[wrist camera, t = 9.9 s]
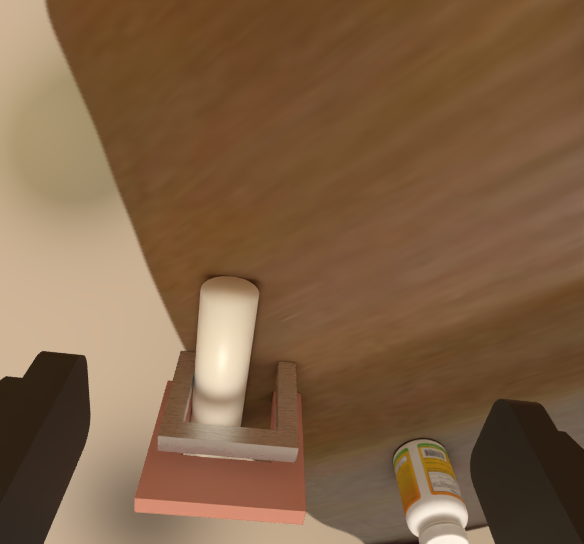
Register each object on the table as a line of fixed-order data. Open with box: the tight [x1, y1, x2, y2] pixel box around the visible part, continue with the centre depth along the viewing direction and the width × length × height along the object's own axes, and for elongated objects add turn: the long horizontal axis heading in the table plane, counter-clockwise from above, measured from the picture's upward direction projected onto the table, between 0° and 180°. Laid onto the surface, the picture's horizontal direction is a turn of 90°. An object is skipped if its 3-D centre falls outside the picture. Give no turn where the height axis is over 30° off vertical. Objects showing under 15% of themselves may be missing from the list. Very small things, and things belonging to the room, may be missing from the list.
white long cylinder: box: [190, 276, 259, 459], centre depth 43 cm, size 16×5×5 cm
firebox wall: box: [135, 381, 306, 525], centre depth 43 cm, size 12×4×12 cm, turn 82°
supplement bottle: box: [393, 439, 469, 544], centre depth 48 cm, size 5×5×10 cm
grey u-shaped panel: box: [157, 351, 299, 463], centre depth 41 cm, size 10×2×10 cm, turn 82°
